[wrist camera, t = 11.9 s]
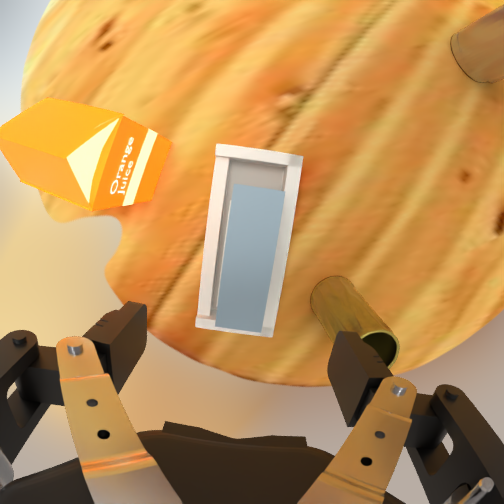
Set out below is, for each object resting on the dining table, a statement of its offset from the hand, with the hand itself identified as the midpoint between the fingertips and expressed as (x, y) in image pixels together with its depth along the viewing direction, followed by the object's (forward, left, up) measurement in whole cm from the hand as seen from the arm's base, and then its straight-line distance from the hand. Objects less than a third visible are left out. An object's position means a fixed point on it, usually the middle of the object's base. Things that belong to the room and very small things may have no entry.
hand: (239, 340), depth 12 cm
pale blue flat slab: (0, 0, -22) cm, 22 cm away
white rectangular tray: (0, 0, -24) cm, 24 cm away
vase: (-12, +6, -24) cm, 28 cm away
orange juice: (+15, -8, -24) cm, 30 cm away
